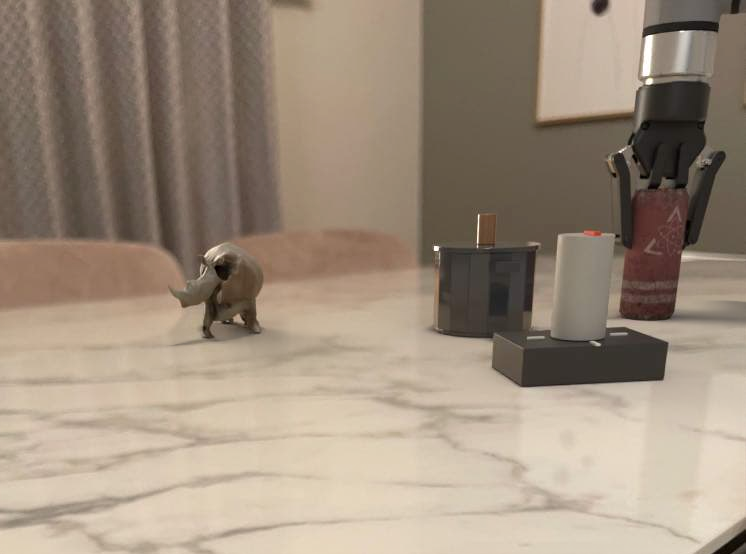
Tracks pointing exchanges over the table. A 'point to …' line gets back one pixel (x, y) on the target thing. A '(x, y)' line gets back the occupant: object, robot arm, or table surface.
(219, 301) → the rhinoceros figurine
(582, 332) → the knob
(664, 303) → the can
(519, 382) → the block
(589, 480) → the table surface
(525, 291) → the pot
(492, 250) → the pot lid
